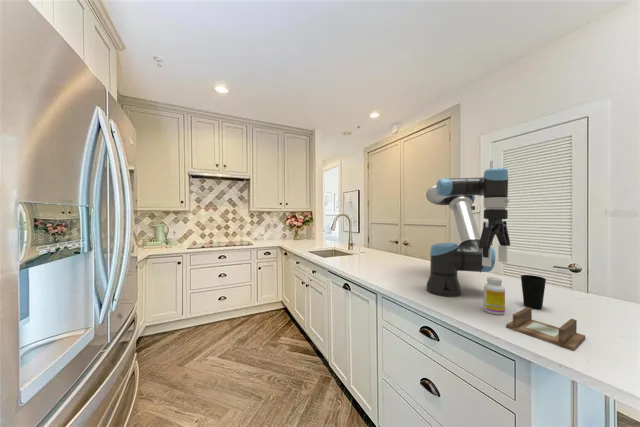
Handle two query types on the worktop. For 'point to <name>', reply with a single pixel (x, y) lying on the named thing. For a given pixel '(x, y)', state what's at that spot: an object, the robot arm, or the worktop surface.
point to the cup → (533, 291)
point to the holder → (547, 330)
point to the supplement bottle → (494, 296)
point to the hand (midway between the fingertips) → (494, 264)
